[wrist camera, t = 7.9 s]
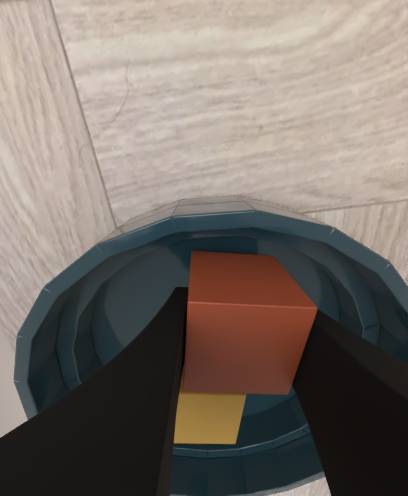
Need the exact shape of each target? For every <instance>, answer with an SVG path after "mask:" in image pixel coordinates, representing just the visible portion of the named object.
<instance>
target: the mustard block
mask: <svg viewBox="0 0 408 496" xmlns="http://www.w3.org/2000/svg"><path fill="white" fill-rule="evenodd" d="M183 375H184V367H183V373H182V379H181V386H180V392H179V398H178V405H177V413H176V423H175V435H174V443H196V444H235V443H236V439H237V435H238V430H239V426H240V421H241V417H242V412H243V408H244V404H245V399H246V393H209V392H183Z"/></svg>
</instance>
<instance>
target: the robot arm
mask: <svg viewBox="0 0 408 496" xmlns="http://www.w3.org/2000/svg"><path fill="white" fill-rule="evenodd" d="M188 290H189V287H176V288H174V290H173V292H172V294H171V295H170V297H169V298H168V300H167V301H166V302H165V304H164V305H163V306H162V308H161V309H160V310H159V312H158V313H157V314H156V315H155V317H154V318H153V319H152V320H151V321H150V322H149V323H148V325H147V326H146V327H145V328H144V329H143V330H142V331H141V332H140V333H139V334H138V335H137V336H136V337H135V338H134V339H133V340H132V341H131V342H130V343H129V344H128V345H127V346H126V347H125V348H124V349H123V350H122V351H121V352H119V353H118V354H117V355H116V356H115V357H114V358H112V359H111V360H110V361H109V362H108V363H107V364H105V365H104V366H103V367H102V368H101V369H99V370H98V371H97V372H96V373H94V374H93V375H92V376H90V377H89V378H88V379H86V380H85V381H84V382H82V383H81V384H80V385H78V386H77V387H75V388H74V389H73V390H71V391H70V392H69V393H67V394H66V395H65V396H63V397H62V398H60V399H59V400H58V401H56V402H55V403H53V404H52V405H51V406H49V407H48V408H46V409H45V410H43V411H42V412H40V413H39V414H37V415H35V416H34V417H32V418H31V419H29V420H28V421H26V422H24V423H23V424H21V425H20V426H18V427H17V428H15V429H14V430H12V431H11V432H9V433H7V434H6V435H4V436H3V437H1V438H0V496H169V494H170V482H171V470H172V458H173V447H174V435H175V423H176V413H177V405H178V398H179V392H180V386H181V379H182V373H183V367H184V357H185V339H186V321H187V303H188ZM292 386H293V389H294V391H295V393H296V395H297V398H298V400H299V402H300V405H301V407H302V410H303V412H304V415H305V417H306V420H307V423H308V426H309V429H310V431H311V434H312V437H313V440H314V443H315V446H316V449H317V452H318V455H319V458H320V461H321V464H322V468H323V471H324V474H325V477H326V480H327V483H328V486H329V489H330V493H331V496H408V363H407V362H405V361H404V360H402V359H400V358H398V357H396V356H394V355H392V354H391V353H389V352H387V351H385V350H383V349H381V348H380V347H378V346H376V345H374V344H373V343H371V342H369V341H367V340H366V339H364V338H362V337H361V336H359V335H358V334H356V333H354V332H353V331H351V330H349V329H348V328H346V327H345V326H343V325H341V324H340V323H338V322H337V321H335V320H334V319H332V318H331V317H329V316H328V315H326V314H325V313H323V312H322V311H320V310H319V309H318V310H317V313H316V316H315V319H314V321H313V324H312V327H311V330H310V333H309V336H308V339H307V342H306V345H305V348H304V351H303V354H302V357H301V359H300V362H299V365H298V368H297V371H296V374H295V377H294V380H293V383H292Z"/></svg>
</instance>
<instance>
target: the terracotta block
mask: <svg viewBox="0 0 408 496" xmlns="http://www.w3.org/2000/svg"><path fill="white" fill-rule="evenodd" d="M317 310H318V308H317V307H316V305H315V304H314V303H313V302H312V301H311V299H310V298H309V297H308V296H307V295H306V293H305V292H304V291H303V290H302V289H301V287H300V286H299V285H298V284H297V283H296V282H295V280H294V279H293V278H292V277H291V276H290V274H289V273H288V272H287V271H286V270H285V268H284V267H283V266H282V265H281V264H280V263H279V261H278V260H277V259H276V258H275V257H274V256H270V255H254V254H237V253H221V252H204V251H192V253H191V266H190V278H189V290H188V303H187V321H186V339H185V357H184V375H183V392H209V393H248V394H287V395H288V394H289V392H290V389H291V386H292V383H293V380H294V377H295V374H296V371H297V368H298V365H299V362H300V359H301V357H302V354H303V351H304V348H305V345H306V342H307V339H308V336H309V333H310V330H311V327H312V324H313V321H314V319H315V316H316V313H317Z"/></svg>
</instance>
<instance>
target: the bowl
mask: <svg viewBox="0 0 408 496" xmlns="http://www.w3.org/2000/svg"><path fill="white" fill-rule="evenodd" d="M192 251H204V252H221V253H237V254H254V255H270V256H274V257H275V258H276V259H277V260H278V261H279V263H280V264H281V265H282V266H283V267H284V268H285V270H286V271H287V272H288V273H289V274H290V276H291V277H292V278H293V279H294V280H295V282H296V283H297V284H298V285H299V286H300V287H301V289H302V290H303V291H304V292H305V293H306V295H307V296H308V297H309V298H310V299H311V301H312V302H313V303H314V304H315V305H316V307H317V308H318V309H319V310H320V311H322V312H323V313H325V314H326V315H328V316H329V317H331V318H332V319H334V320H335V321H337V322H338V323H340V324H341V325H343V326H345V327H346V328H348V329H349V330H351V331H353V332H354V333H356V334H358V335H359V336H361V337H362V338H364V339H366V340H367V341H369V342H371V343H373V344H374V345H376V346H378V347H380V348H381V349H383V350H385V351H387V352H389V353H391V354H392V355H394V356H396V357H398V358H400V359H402V360H404V361H405V362H407V363H408V286H407V285H406V283H405V282H404V280H403V279H402V278H401V276H400V275H399V273H398V272H397V271H396V269H395V268H394V266H393V265H392V264H391V263H390V262H389V261H388V260H387V259H385V258H383V257H382V256H380V255H379V254H377V253H375V252H374V251H372V250H370V249H369V248H367V247H366V246H364V245H362V244H361V243H359V242H357V241H356V240H354V239H353V238H351V237H349V236H348V235H346V234H344V233H343V232H341V231H340V230H338V229H336V228H335V227H332V226H330V225H328V224H325V223H323V222H321V221H318V220H316V219H314V218H311V217H309V216H307V215H304V214H302V213H300V212H297V211H295V210H293V209H290V208H288V207H285V206H280V205H276V204H272V203H267V202H263V201H258V200H254V199H250V198H245V197H241V196H221V197H207V198H193V199H182V200H178V201H175V202H173V203H170V204H168V205H165V206H162V207H160V208H157V209H154V210H152V211H149V212H147V213H144V214H141V215H139V216H136V217H134V218H132V219H130V220H128V221H127V222H126V223H124V224H123V225H121V226H120V227H119V228H117V229H116V230H115V231H113V232H112V233H111V234H109V235H108V236H107V237H105V238H104V239H103V240H101V241H100V242H98V243H97V244H96V245H94V246H93V247H92V248H91V249H90V250H88V251H87V252H86V253H85V254H83V255H82V256H81V257H80V258H78V259H77V260H76V261H75V262H73V263H72V264H71V265H70V266H69V267H67V268H66V269H65V270H64V271H62V272H61V273H60V274H59V275H57V276H56V277H55V278H54V279H52V280H51V281H50V282H49V283H47V284H46V285H45V287H43V289H42V291H41V293H40V294H39V296H38V298H37V300H36V302H35V303H34V305H33V307H32V309H31V311H30V312H29V314H28V316H27V318H26V319H25V321H24V323H23V325H22V327H21V328H20V330H19V332H18V334H17V340H16V354H15V367H14V383H15V386H16V389H17V391H18V394H19V397H20V400H21V402H22V405H23V408H24V411H25V413H26V416H27V419H28V420H29V419H31V418H32V417H34V416H35V415H37V414H39V413H40V412H42V411H43V410H45V409H46V408H48V407H49V406H51V405H52V404H53V403H55V402H56V401H58V400H59V399H60V398H62V397H63V396H65V395H66V394H67V393H69V392H70V391H71V390H73V389H74V388H75V387H77V386H78V385H80V384H81V383H82V382H84V381H85V380H86V379H88V378H89V377H90V376H92V375H93V374H94V373H96V372H97V371H98V370H99V369H101V368H102V367H103V366H104V365H105V364H107V363H108V362H109V361H110V360H111V359H112V358H114V357H115V356H116V355H117V354H118V353H119V352H121V351H122V350H123V349H124V348H125V347H126V346H127V345H128V344H129V343H130V342H131V341H132V340H133V339H134V338H135V337H136V336H137V335H138V334H139V333H140V332H141V331H142V330H143V329H144V328H145V327H146V326H147V325H148V323H149V322H150V321H151V320H152V319H153V318H154V317H155V315H156V314H157V313H158V312H159V310H160V309H161V308H162V306H163V305H164V304H165V302H166V301H167V300H168V298H169V297H170V295H171V294H172V292H173V290H174V288H176V287H189V278H190V266H191V253H192ZM323 477H325V474H324V471H323V468H322V464H321V461H320V458H319V455H318V452H317V449H316V446H315V443H314V440H313V437H312V434H311V431H310V429H309V426H308V423H307V420H306V417H305V415H304V412H303V410H302V407H301V405H300V402H299V400H298V398H297V395H296V393H295V391H294V389H293V386H291V389H290V392H289V394H288V395H287V394H248V393H246V399H245V404H244V408H243V412H242V417H241V421H240V426H239V430H238V435H237V439H236V443H235V444H196V443H174V447H173V458H172V470H171V482H170V494H169V496H265V495H270V494H275V493H279V492H284V491H289V490H291V489H294V488H297V487H299V486H302V485H305V484H307V483H310V482H313V481H315V480H318V479H321V478H323Z"/></svg>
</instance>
